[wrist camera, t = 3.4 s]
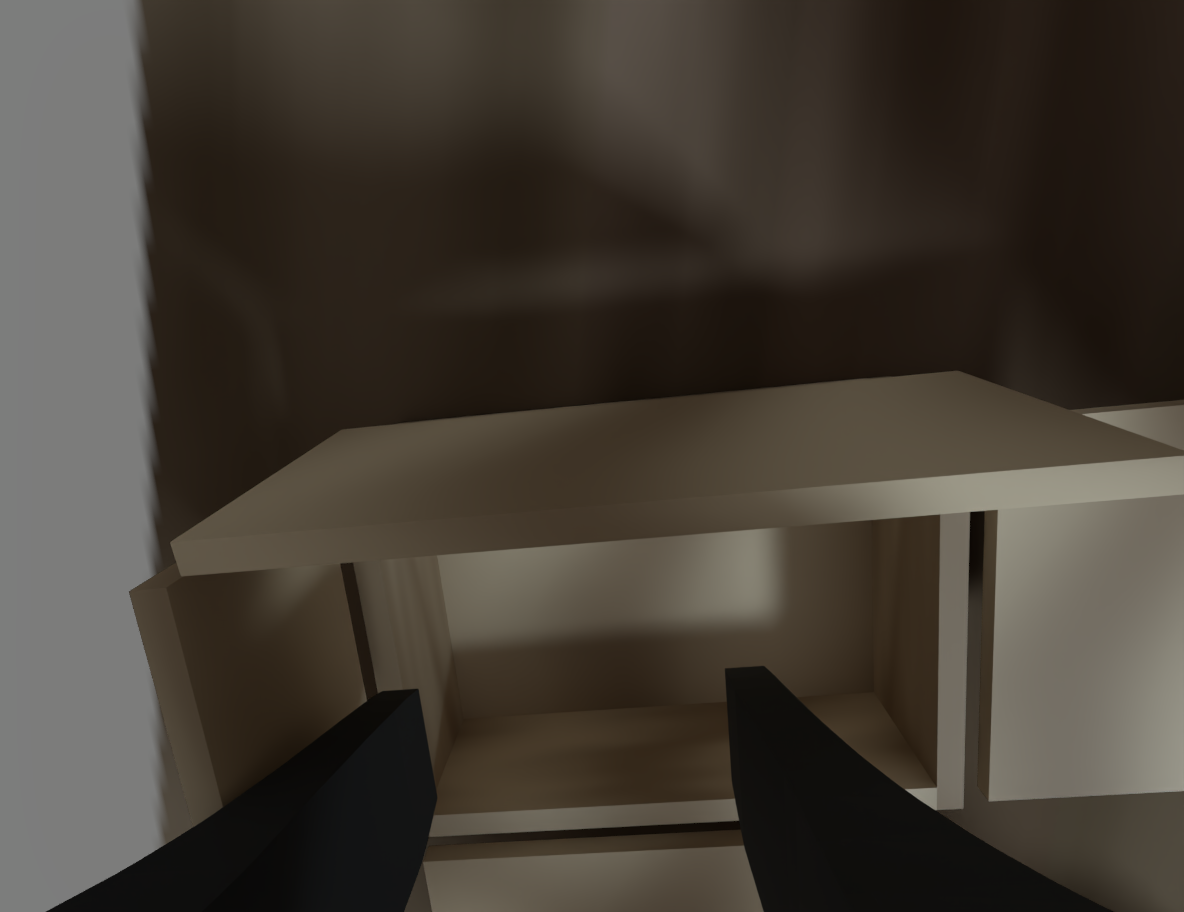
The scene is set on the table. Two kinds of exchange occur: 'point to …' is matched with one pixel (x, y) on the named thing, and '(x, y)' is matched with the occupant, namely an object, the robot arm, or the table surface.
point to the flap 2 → (677, 472)
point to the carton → (795, 656)
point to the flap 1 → (246, 671)
